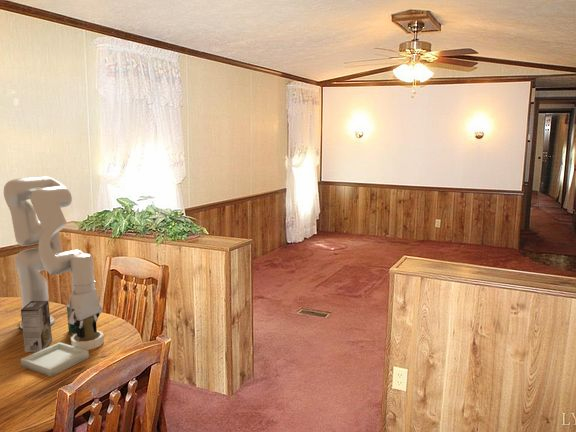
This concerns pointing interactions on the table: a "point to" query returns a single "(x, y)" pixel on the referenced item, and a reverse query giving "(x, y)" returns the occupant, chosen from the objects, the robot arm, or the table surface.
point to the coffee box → (36, 326)
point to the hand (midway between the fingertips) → (87, 333)
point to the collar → (88, 344)
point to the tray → (54, 359)
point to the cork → (88, 329)
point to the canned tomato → (71, 328)
